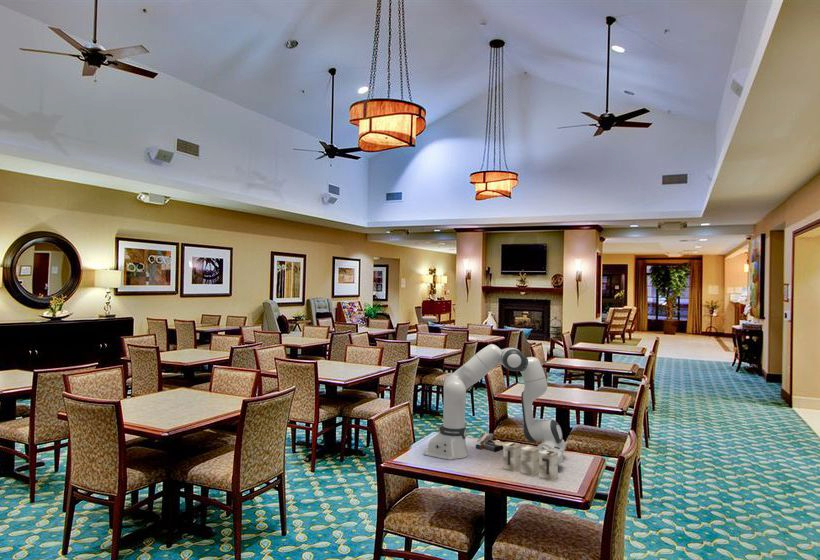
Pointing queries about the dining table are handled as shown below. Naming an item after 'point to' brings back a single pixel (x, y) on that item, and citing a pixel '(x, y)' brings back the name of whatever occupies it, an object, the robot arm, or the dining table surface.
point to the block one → (512, 456)
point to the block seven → (548, 465)
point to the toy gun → (488, 443)
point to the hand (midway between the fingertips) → (533, 458)
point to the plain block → (530, 461)
